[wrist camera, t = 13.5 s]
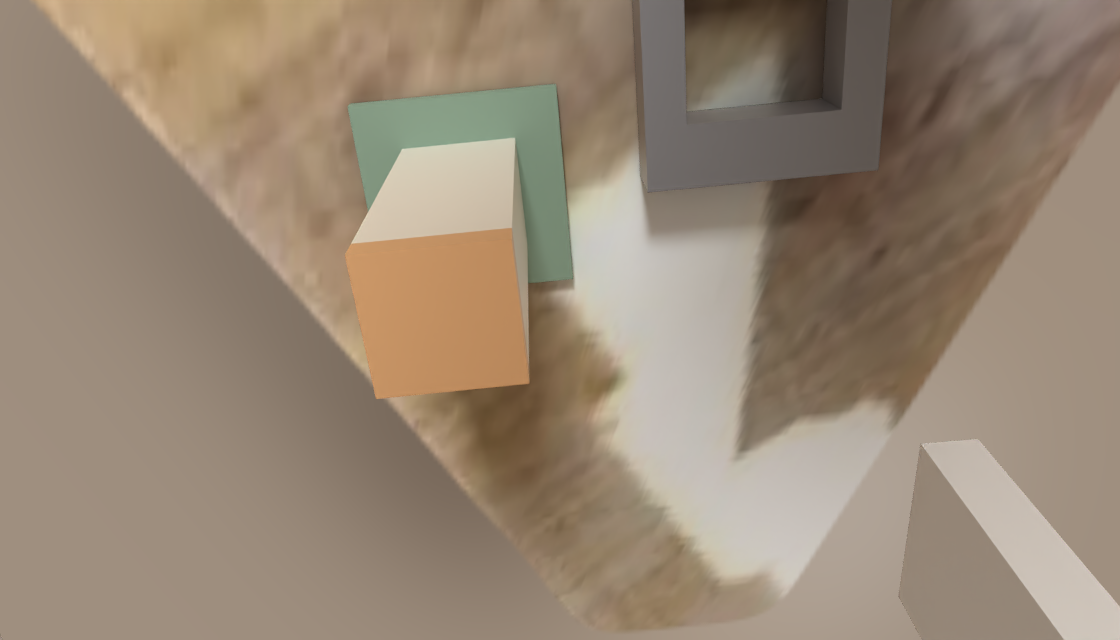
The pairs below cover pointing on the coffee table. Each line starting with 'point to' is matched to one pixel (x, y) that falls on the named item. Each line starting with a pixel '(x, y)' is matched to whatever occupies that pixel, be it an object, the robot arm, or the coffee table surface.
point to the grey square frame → (760, 107)
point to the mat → (471, 120)
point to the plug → (444, 272)
